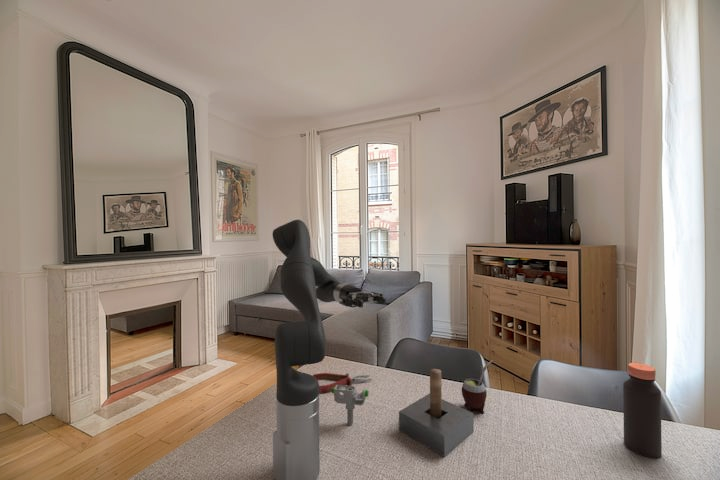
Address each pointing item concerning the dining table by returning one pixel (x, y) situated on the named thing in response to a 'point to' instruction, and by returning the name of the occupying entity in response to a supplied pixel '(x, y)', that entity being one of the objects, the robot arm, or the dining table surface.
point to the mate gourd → (475, 393)
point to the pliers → (339, 380)
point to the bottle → (642, 411)
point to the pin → (435, 393)
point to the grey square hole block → (436, 425)
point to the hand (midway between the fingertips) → (373, 302)
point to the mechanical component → (349, 399)
